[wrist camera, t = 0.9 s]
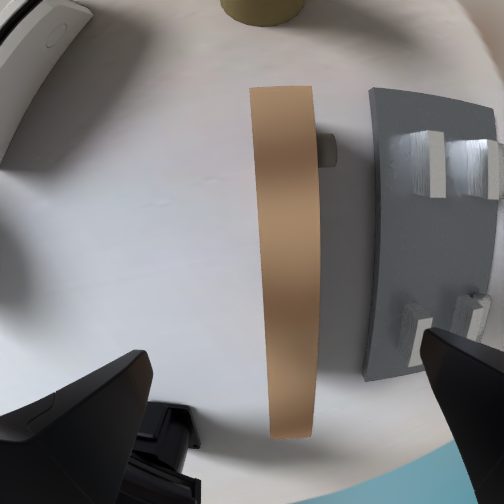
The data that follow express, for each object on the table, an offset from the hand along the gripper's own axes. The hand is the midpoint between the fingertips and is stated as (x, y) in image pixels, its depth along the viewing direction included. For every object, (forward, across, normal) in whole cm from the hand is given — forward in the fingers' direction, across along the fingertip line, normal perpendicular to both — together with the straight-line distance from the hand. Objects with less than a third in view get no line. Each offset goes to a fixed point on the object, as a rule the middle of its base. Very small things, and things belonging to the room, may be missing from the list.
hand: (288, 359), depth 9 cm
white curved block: (+12, +19, -16) cm, 28 cm away
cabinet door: (+12, 0, 0) cm, 12 cm away
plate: (+12, -12, 0) cm, 17 cm away
